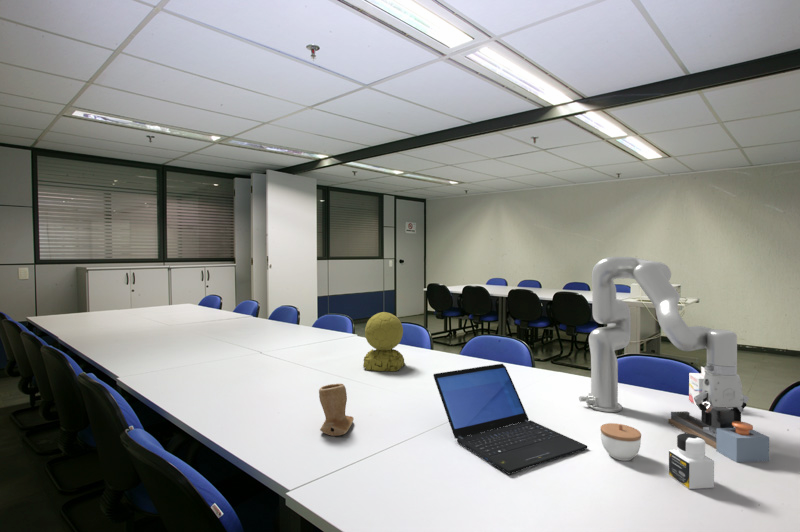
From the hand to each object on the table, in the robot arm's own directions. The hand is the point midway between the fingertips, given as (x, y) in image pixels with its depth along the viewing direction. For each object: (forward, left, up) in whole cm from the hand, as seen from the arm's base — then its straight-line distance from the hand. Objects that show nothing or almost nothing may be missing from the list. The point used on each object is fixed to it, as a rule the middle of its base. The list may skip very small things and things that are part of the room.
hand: (721, 423), depth 130 cm
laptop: (-66, +9, -7) cm, 67 cm away
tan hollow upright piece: (-123, +21, -7) cm, 125 cm away
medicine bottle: (-26, -20, -7) cm, 34 cm away
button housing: (0, -7, -7) cm, 10 cm away
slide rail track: (0, +7, -7) cm, 10 cm away
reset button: (0, -8, -1) cm, 8 cm away
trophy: (-104, +104, -7) cm, 147 cm away
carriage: (0, 0, -5) cm, 5 cm away
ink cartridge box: (+22, +35, -7) cm, 42 cm away
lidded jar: (-36, -5, -7) cm, 37 cm away
